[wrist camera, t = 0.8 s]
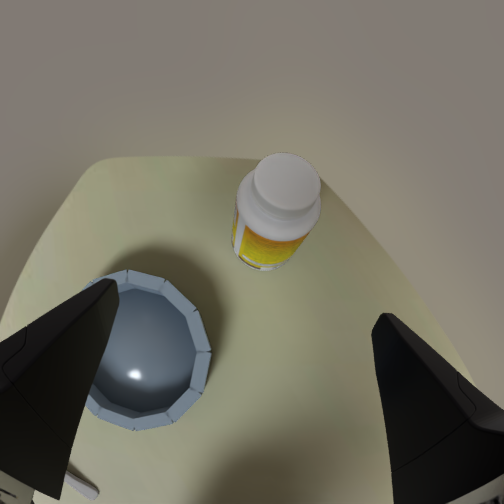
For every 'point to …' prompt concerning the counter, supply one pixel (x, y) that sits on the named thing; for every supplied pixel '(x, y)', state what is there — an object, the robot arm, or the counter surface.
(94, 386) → the bowl
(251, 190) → the supplement bottle
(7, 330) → the counter surface
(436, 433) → the robot arm
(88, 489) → the spoon
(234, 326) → the counter surface
